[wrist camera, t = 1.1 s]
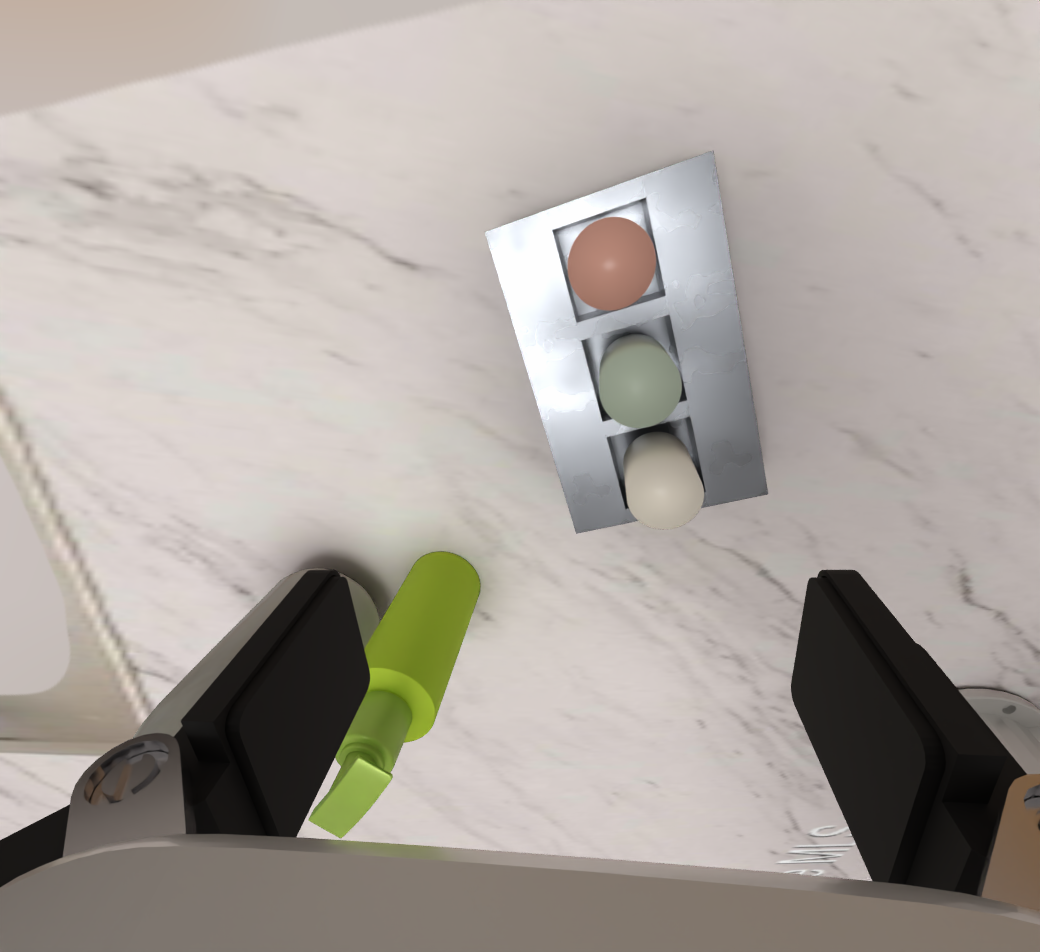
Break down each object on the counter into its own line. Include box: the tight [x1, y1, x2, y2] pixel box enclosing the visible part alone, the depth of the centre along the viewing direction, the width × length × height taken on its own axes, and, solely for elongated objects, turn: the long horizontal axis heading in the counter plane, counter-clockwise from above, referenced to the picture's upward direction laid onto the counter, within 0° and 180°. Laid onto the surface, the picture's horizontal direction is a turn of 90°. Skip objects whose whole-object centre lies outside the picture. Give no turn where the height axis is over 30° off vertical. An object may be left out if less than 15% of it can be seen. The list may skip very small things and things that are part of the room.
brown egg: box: [567, 217, 656, 311], centre depth 27 cm, size 4×4×5 cm
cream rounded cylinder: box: [623, 432, 704, 530], centre depth 31 cm, size 4×4×5 cm
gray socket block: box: [485, 151, 768, 534], centre depth 33 cm, size 12×19×4 cm, turn 17°
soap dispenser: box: [309, 552, 480, 838], centre depth 34 cm, size 6×7×20 cm
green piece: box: [599, 334, 682, 428], centre depth 29 cm, size 4×4×5 cm
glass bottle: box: [133, 568, 380, 738], centre depth 33 cm, size 10×10×28 cm
